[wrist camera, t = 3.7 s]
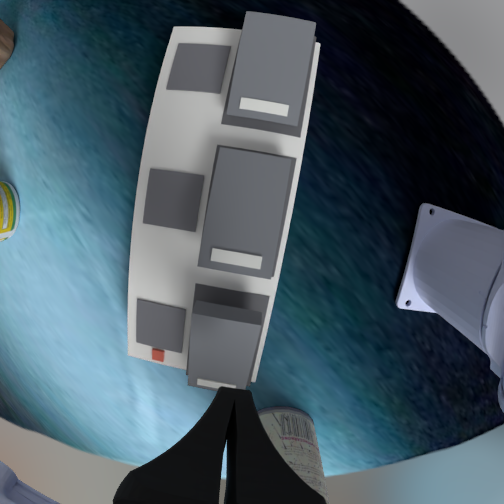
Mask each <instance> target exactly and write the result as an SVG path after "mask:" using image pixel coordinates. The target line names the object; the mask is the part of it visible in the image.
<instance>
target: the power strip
mask: <svg viewBox="0 0 504 504" xmlns="http://www.w3.org/2000/svg"><path fill="white" fill-rule="evenodd" d="M242 29H243V28H242ZM241 34H242V30H239V29H228V28H213V27H174V28H173V31H172V34H171V38H170V41H169V44H168V47H167V51H166V54H165V57H164V61H163V64H162V68H161V72H160V75H159V79H158V83H157V87H156V91H155V95H154V99H153V104H152V108H151V112H150V117H149V122H148V127H147V132H146V137H145V142H144V147H143V153H142V159H141V165H140V171H139V178H138V185H137V192H136V200H135V208H134V217H133V226H132V237H131V249H130V264H129V283H128V355H129V356H132V357H136V358H139V359H143V360H147V361H151V362H155V363H159V364H163V365H167V366H171V367H175V368H180V369H184V370H186V375H188V370H189V348H190V330H191V314H192V311H193V308H194V305H195V303H196V300H198V301H204V302H209V303H214V304H219V305H225V306H230V307H236V308H242V309H248V310H253V311H259V312H262V322H261V329H260V333H259V337H258V341H257V345H256V349H255V353H254V357H253V361H252V365H251V369H250V373H249V377H248V381H247V385H246V386H250V383H251V382H255V381H256V377H257V373H258V368H259V364H260V360H261V356H262V351H263V347H264V343H265V338H266V334H267V330H268V325H269V321H270V316H271V312H272V307H273V303H274V298H275V293H276V289H277V284H278V279H279V275H280V270H281V265H282V260H283V255H284V251H285V246H286V241H287V236H288V231H289V226H290V221H291V215H292V210H293V205H294V200H295V194H296V189H297V184H298V178H299V173H300V167H301V162H302V156H303V150H304V145H305V139H306V133H307V127H308V121H309V115H310V109H311V103H312V96H313V90H314V84H315V77H316V70H317V64H318V57H319V50H320V43H317V42H316V37H315V36H314V39H313V44H312V50H311V56H310V61H309V67H308V72H307V78H306V83H305V88H304V94H303V99H302V104H301V110H300V115H299V120H298V125H297V126H291V125H286V124H281V123H275V122H270V121H264V120H258V119H252V118H246V117H239V116H232V115H227V108H228V103H229V97H230V91H231V86H232V80H233V75H234V70H235V64H236V59H237V54H238V49H239V44H240V39H241ZM220 147H222V148H229V149H236V150H242V151H248V152H254V153H260V154H265V155H271V156H276V157H281V158H287V159H291V166H290V172H289V178H288V184H287V190H286V196H285V202H284V208H283V214H282V220H281V226H280V232H279V238H278V243H277V249H276V255H275V260H274V266H273V271H272V277H271V280H270V279H265V278H259V277H253V276H247V275H242V274H236V273H230V272H225V271H219V270H214V269H208V268H203V267H198V266H197V265H198V259H199V253H200V247H201V241H202V236H203V230H204V225H205V219H206V214H207V209H208V203H209V198H210V193H211V188H212V183H213V178H214V173H215V169H216V164H217V159H218V155H219V150H220Z"/></svg>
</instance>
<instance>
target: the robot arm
mask: <svg viewBox="0 0 504 504" xmlns="http://www.w3.org/2000/svg"><path fill="white" fill-rule="evenodd" d="M430 209H432V214H431V215H430V213H429V211H430ZM408 300H409V302H408V304H406V305H405V303H406V301H408ZM396 305H397V306H398V307H399V308H401V309H409V310H417V311H425V312H434V313H438V314H439V315H440V316H442V317H443V318H444V319H445V320H447V321H448V322H449V323H450V324H452V325H453V326H454V327H455V328H456V329H458V330H459V331H460V332H461V333H462V334H464V335H465V336H466V337H467V338H468V339H470V340H471V341H472V342H473V343H474V344H475V345H477V346H478V347H479V348H480V349H481V350H482V351H484V352H485V353H486V354H487V355H488V356H489V357H490V360H491V366H490V369H491V370H492V371H493V372H494V373H495V374H497V375H498V376H499V377H500V378H501V380H500V383H499V387H498V400H499V403H500V407H501V409H502V410H503V412H504V231H503V230H499V229H497V228H495V227H492V226H490V225H487V224H485V223H482V222H479V221H477V220H474V219H471V218H469V217H466V216H463V215H460V214H458V213H455V212H452V211H449V210H446V209H443V208H440V207H437V206H434V205H431V204H427V203H423V204H421V206H420V208H419V213H418V218H417V222H416V227H415V232H414V236H413V240H412V244H411V249H410V253H409V256H408V260H407V264H406V268H405V271H404V275H403V278H402V282H401V285H400V289H399V292H398V295H397V298H396ZM226 440H227V478H226V490H225V498H224V504H327V503H326V500H325V498H324V497H323V496H322V495H320V494H319V493H318V492H316V491H315V490H314V489H312V488H311V487H310V486H309V485H308V484H307V483H305V482H304V481H303V480H302V479H301V478H300V477H299V476H298V475H297V474H296V473H295V472H294V471H293V469H292V468H291V467H290V466H289V465H288V464H287V463H286V462H285V460H284V459H283V458H282V456H281V455H280V454H279V452H278V451H277V449H276V448H275V446H274V445H273V443H272V441H271V440H270V438H269V436H268V434H267V433H266V431H265V429H264V427H263V424H262V422H261V420H260V418H259V415H258V413H257V410H256V407H255V404H254V401H253V397H252V393H251V391H250V390H243V389H237V388H230V387H224V386H221V387H219V388H218V392H217V394H216V396H215V398H214V400H213V401H212V403H211V405H210V406H209V408H208V409H207V410H206V412H205V413H204V415H203V416H202V417H201V418H200V420H199V421H198V422H197V423H196V424H195V426H194V427H193V428H192V429H191V430H190V431H189V432H188V433H187V434H186V435H185V436H184V437H183V438H182V439H181V440H180V441H178V442H177V443H176V444H175V445H174V446H172V447H171V448H170V449H168V450H167V451H166V452H164V453H163V454H161V455H160V456H158V457H156V458H155V459H153V460H152V461H150V462H148V463H146V464H144V465H142V466H140V467H138V468H136V469H134V470H132V471H130V472H129V474H128V475H127V476H126V477H125V478H124V480H123V481H122V482H121V484H120V486H119V488H118V489H117V491H116V494H115V496H114V499H113V504H219V492H220V491H219V490H220V480H221V470H222V460H223V452H224V448H225V444H226ZM0 504H60V503H58V502H56V501H54V500H52V499H50V498H48V497H47V496H45V495H43V494H41V493H40V492H38V491H36V490H35V489H33V488H31V487H30V486H28V485H26V484H25V483H23V482H22V481H20V480H18V478H17V476H16V474H15V473H14V472H13V471H12V470H11V469H10V468H9V467H8V466H7V465H5V464H4V463H3V462H1V461H0Z"/></svg>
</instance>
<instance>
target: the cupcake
mask: <svg viewBox="0 0 504 504" xmlns="http://www.w3.org/2000/svg"><path fill="white" fill-rule="evenodd" d="M13 38H14V32H13V31H12V30H11V29H10V28H9V27H8V26H7V25H6V24H5V23H4V22H3V21H2V20H1V19H0V69H1V68H2V66H3V65H4V64H5V63H6V61H7V60H8V59H9V58H10V56H11V54H12V51H13V47H14V43H13Z"/></svg>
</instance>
